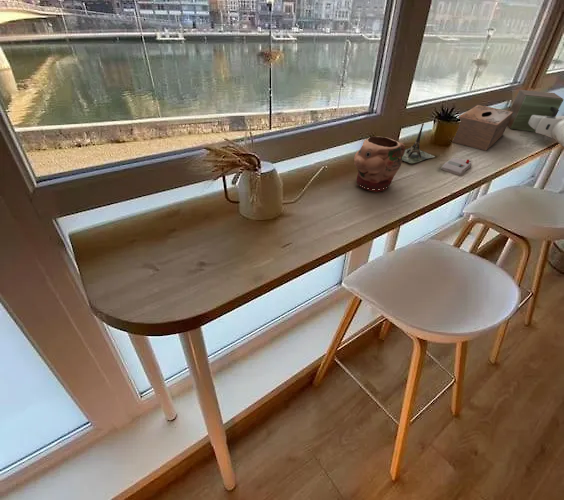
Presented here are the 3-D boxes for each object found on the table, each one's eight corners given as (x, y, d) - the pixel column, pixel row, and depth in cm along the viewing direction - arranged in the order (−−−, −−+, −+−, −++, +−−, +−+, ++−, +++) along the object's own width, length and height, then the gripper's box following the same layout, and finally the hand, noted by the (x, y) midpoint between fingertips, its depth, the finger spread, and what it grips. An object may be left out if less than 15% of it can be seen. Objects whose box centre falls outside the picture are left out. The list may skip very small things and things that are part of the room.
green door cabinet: (544, 132, 150) (563, 98, 141) (510, 128, 153) (525, 95, 144) (537, 125, 158) (554, 92, 149) (504, 121, 161) (519, 89, 152)
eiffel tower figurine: (413, 148, 129) (423, 112, 120) (435, 156, 123) (448, 120, 114) (388, 155, 122) (397, 119, 113) (411, 165, 115) (422, 127, 107)
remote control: (438, 170, 113) (441, 162, 111) (455, 158, 122) (459, 150, 120) (457, 177, 109) (461, 168, 107) (474, 164, 118) (477, 156, 116)
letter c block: (549, 136, 145) (568, 102, 136) (513, 132, 148) (529, 99, 139) (545, 132, 149) (563, 99, 141) (510, 128, 152) (525, 95, 144)
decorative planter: (380, 169, 112) (389, 128, 103) (410, 182, 105) (423, 140, 96) (339, 184, 102) (346, 140, 93) (369, 200, 95) (380, 154, 86)
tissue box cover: (486, 150, 129) (497, 125, 123) (449, 141, 136) (458, 116, 130) (502, 135, 144) (513, 111, 138) (469, 127, 152) (477, 104, 145)
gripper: (597, 123, 127) (583, 113, 138) (539, 116, 131) (529, 107, 142) (587, 139, 131) (574, 128, 142) (531, 132, 135) (522, 122, 146)
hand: (551, 118), depth 142 cm, fingers open, 3 cm apart
